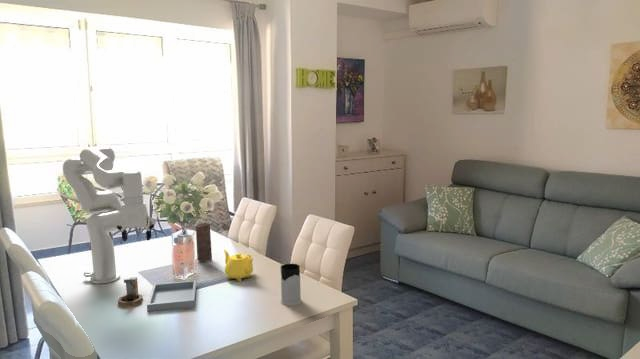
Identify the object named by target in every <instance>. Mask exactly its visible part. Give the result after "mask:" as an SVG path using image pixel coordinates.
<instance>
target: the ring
mask: <svg viewBox="0 0 640 359" xmlns="http://www.w3.org/2000/svg"><path fill="white" fill-rule="evenodd" d="M131 278H136V282H132V287H133V299H135V300H134V301H129V302H125V301H127V294H124V295H122V296H120V297H118V300H117V306H118V307H120V308H124V309H125V308H134V307H136V306H139V305H141V304H142V303H143V299H144V298H143V296H144V295H142V294H139V285H138V277H137V276H135V277H129V278H128V279H131Z"/></svg>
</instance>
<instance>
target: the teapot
mask: <svg viewBox="0 0 640 359" xmlns="http://www.w3.org/2000/svg"><path fill="white" fill-rule="evenodd" d="M223 251H224V254H225V266H224V273H225V275H226V276H227V279H230V280H231V279H236V282H242V279H243V278H244V279H245V278H250V277H251V274H252V273H253V272H254V268H253V260H254V259H255V257H253V258H252V255H251V254H249V253H248V254H242V253H241V252H238V253H235V254H234V255H232V256H230V254H229V252H228V251H227V250H226V249H225V250H223Z"/></svg>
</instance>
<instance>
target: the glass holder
mask: <svg viewBox="0 0 640 359" xmlns="http://www.w3.org/2000/svg"><path fill="white" fill-rule="evenodd" d="M300 271H301V270H300V265H299V264H298V263H285V264H284V263H281V264H280V275H281V279H280V286H281V288H280V289H281V291H280V292H281V293H280V294H281V298H280V299H281V300H280V304H281V305H283V306H285V307H295V306H298V305H300V304H302V302H303V300H302V298H301V296H302V295H301V294H302V293H301V275H300V273H301V272H300Z"/></svg>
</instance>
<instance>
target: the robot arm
mask: <svg viewBox="0 0 640 359" xmlns="http://www.w3.org/2000/svg"><path fill="white" fill-rule="evenodd" d="M115 159H116V155H115V151H114V149H112V148H111V147H109V146H107V145H103V146H92V147H87V148H84V149H83V150H81V152H80V153H79V157H71V158H68V159H66V160H65V161H64V162H63V165H62V173H63V175H64V179H65V180H66V182H67V183H68V184H69V186H70V187H71V188H72V189H73V191H74V193H75V195H76V198H77V200H78V202H79V204H80V206H81V208H82V210H83V211H84V212H85V213H86V214H88V215H89V214H90V215H89V217H88V218H87V219H86V229H87V231H88V234H89V241H90V248H91V259H92V260H91V262H92V269H93V270H91V271H84V272H83V276H84V277H85V278H90V279H89V280H90V282H91V283H92V284H97V285H99V284H100V285H101V284H110V283H113V282H116V281H117V280H119V279H120V277H121V274H120V273H119V272H117V268H116V255H115V245H114V240H113V238H112V237H111V236H110V235H109V234H108V233H111V232H114V231H118V230H119V232H120V233H121V239H122V241H123V242H126V241H127V240H128V231H127V229H138V228H139V229H141V228H144V229H145V230H146V231H145V235H146V241H150V240H151V238H152V229H153V228H154V227H155V226H156V223H158V222H157V219H156V218H154V217H152V216H150V215H149V214H148V208H147V204H146V202H144V194H143V193H144V192H143V180H142V173H141V171H139V170H133V169H131V168H122V169H114V170H113V168H114V162H115ZM85 175H92V176H93V180H94V181H95V182H96V184H97V185H99V186H100V187H102V188H104V189H105V190H103V191H98V190H97V189H96V188H95V185H94V184H93V182H92V181H91V180H89V179H88V178H86V177H84V176H85ZM117 188H122V194H123V197H120V200H119V198H118V196H117V194H116V193H115V192H114V191H111V190H113V189H117ZM121 202H123V204H122V203H121ZM150 222H151V224H150Z"/></svg>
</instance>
